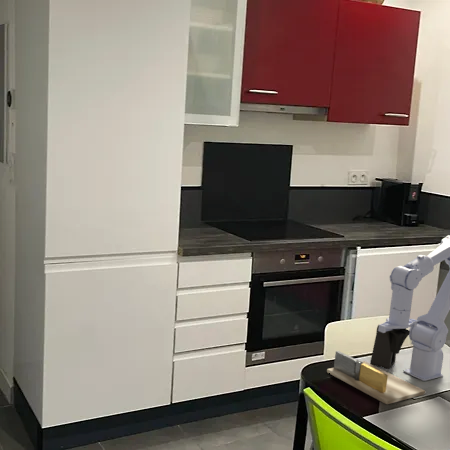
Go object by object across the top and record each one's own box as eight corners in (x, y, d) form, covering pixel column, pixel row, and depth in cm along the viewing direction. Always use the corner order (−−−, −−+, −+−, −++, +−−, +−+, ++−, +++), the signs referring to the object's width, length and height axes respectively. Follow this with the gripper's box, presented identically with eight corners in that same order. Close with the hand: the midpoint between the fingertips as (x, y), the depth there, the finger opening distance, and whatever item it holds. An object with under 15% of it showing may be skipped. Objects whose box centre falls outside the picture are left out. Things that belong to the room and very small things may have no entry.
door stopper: (388, 369, 201) (393, 332, 199) (369, 364, 204) (374, 328, 202) (395, 360, 209) (400, 325, 207) (377, 356, 211) (381, 321, 209)
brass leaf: (362, 379, 187) (364, 363, 187) (385, 392, 180) (387, 375, 179) (359, 380, 187) (361, 364, 186) (382, 392, 180) (384, 375, 179)
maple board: (364, 364, 203) (364, 361, 203) (424, 394, 185) (425, 390, 184) (326, 372, 194) (327, 368, 194) (386, 404, 175) (387, 401, 175)
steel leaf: (337, 367, 196) (339, 350, 195) (361, 380, 188) (364, 362, 187) (333, 368, 195) (335, 351, 194) (357, 381, 187) (359, 363, 186)
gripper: (406, 301, 194) (400, 344, 196) (372, 306, 186) (367, 351, 188) (425, 308, 188) (419, 352, 191) (391, 313, 180) (385, 360, 182)
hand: (394, 352), depth 189 cm, fingers closed
